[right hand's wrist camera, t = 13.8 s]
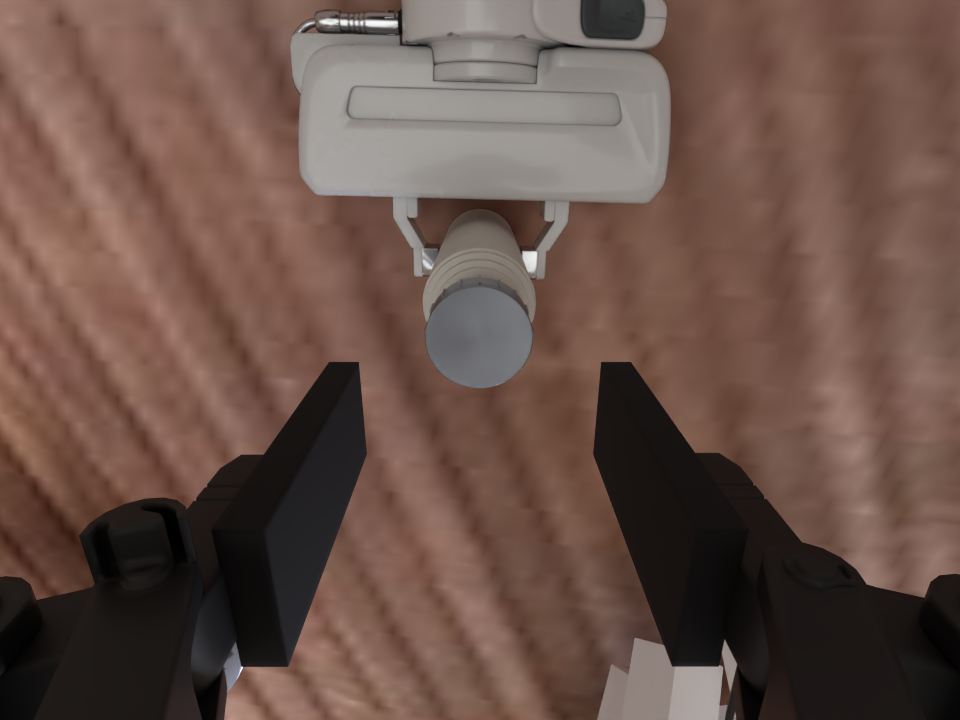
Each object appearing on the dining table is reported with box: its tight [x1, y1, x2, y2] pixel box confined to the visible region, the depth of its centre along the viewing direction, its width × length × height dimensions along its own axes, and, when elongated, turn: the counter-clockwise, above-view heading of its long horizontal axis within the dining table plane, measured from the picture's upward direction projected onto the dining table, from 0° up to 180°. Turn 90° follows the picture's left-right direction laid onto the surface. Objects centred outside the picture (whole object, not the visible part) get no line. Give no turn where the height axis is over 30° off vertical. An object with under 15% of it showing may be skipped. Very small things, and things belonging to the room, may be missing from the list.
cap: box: [425, 276, 534, 388], centre depth 20 cm, size 4×4×2 cm
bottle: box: [423, 209, 536, 324], centre depth 29 cm, size 5×5×20 cm
